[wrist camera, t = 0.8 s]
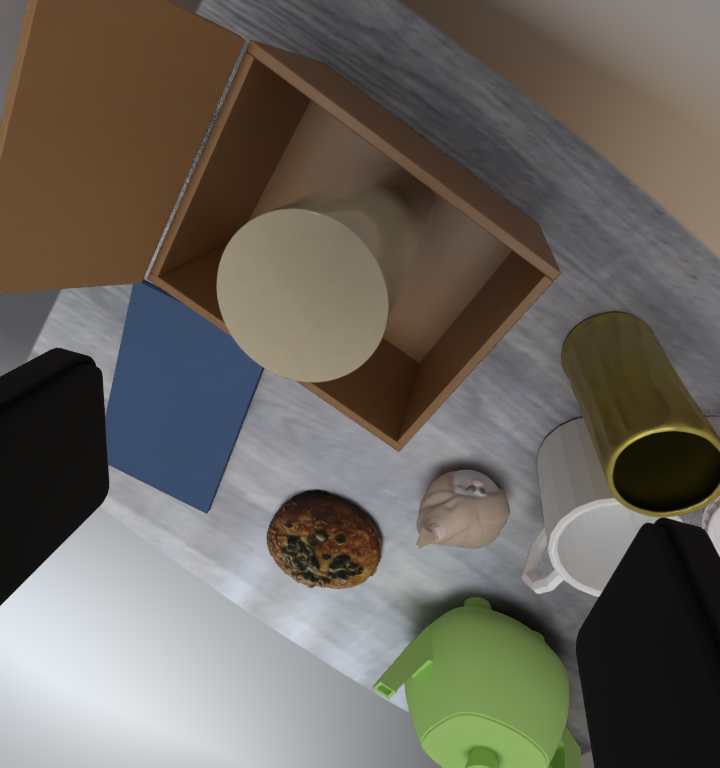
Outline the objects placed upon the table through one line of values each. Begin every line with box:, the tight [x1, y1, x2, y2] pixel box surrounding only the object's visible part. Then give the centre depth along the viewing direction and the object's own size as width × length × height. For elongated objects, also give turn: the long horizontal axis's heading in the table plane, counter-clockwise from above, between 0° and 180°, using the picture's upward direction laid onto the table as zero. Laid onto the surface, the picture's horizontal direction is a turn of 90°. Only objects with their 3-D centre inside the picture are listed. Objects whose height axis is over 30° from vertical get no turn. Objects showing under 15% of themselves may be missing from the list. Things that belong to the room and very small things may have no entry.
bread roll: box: [267, 490, 382, 589], centre depth 49 cm, size 11×11×5 cm
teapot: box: [373, 597, 581, 768], centre depth 46 cm, size 20×13×13 cm
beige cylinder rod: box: [217, 163, 437, 382], centre depth 27 cm, size 6×6×19 cm
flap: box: [0, 0, 245, 293], centre depth 22 cm, size 8×13×1 cm
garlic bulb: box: [416, 470, 510, 549], centre depth 41 cm, size 7×6×8 cm
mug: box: [521, 418, 685, 597], centre depth 37 cm, size 8×12×10 cm
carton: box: [147, 40, 561, 452], centre depth 32 cm, size 17×13×12 cm
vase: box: [561, 312, 720, 517], centre depth 31 cm, size 6×6×14 cm
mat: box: [105, 280, 264, 513], centre depth 47 cm, size 20×12×1 cm, turn 156°
